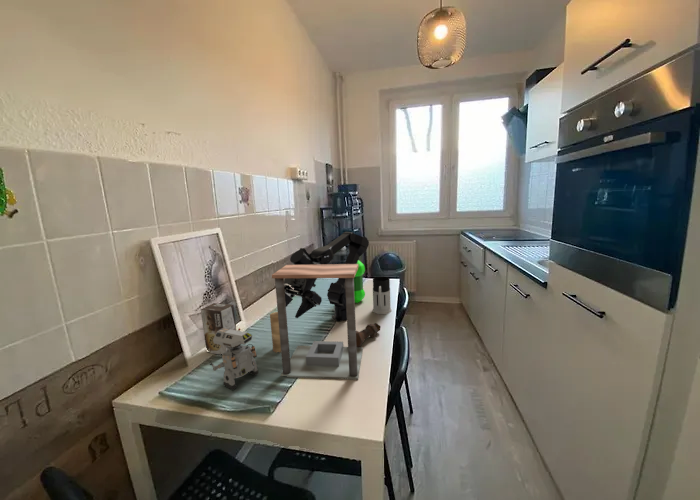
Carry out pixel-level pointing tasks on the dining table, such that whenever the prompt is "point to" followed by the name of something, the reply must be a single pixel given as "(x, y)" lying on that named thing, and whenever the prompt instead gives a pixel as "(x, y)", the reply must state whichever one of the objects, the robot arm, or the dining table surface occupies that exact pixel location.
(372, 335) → the bolt
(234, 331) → the figurine
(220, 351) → the coffee box
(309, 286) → the robot arm
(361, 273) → the plastic bottle
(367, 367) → the dining table surface
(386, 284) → the glass holder
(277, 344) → the peg
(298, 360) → the post and lintel frame
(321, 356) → the socket
